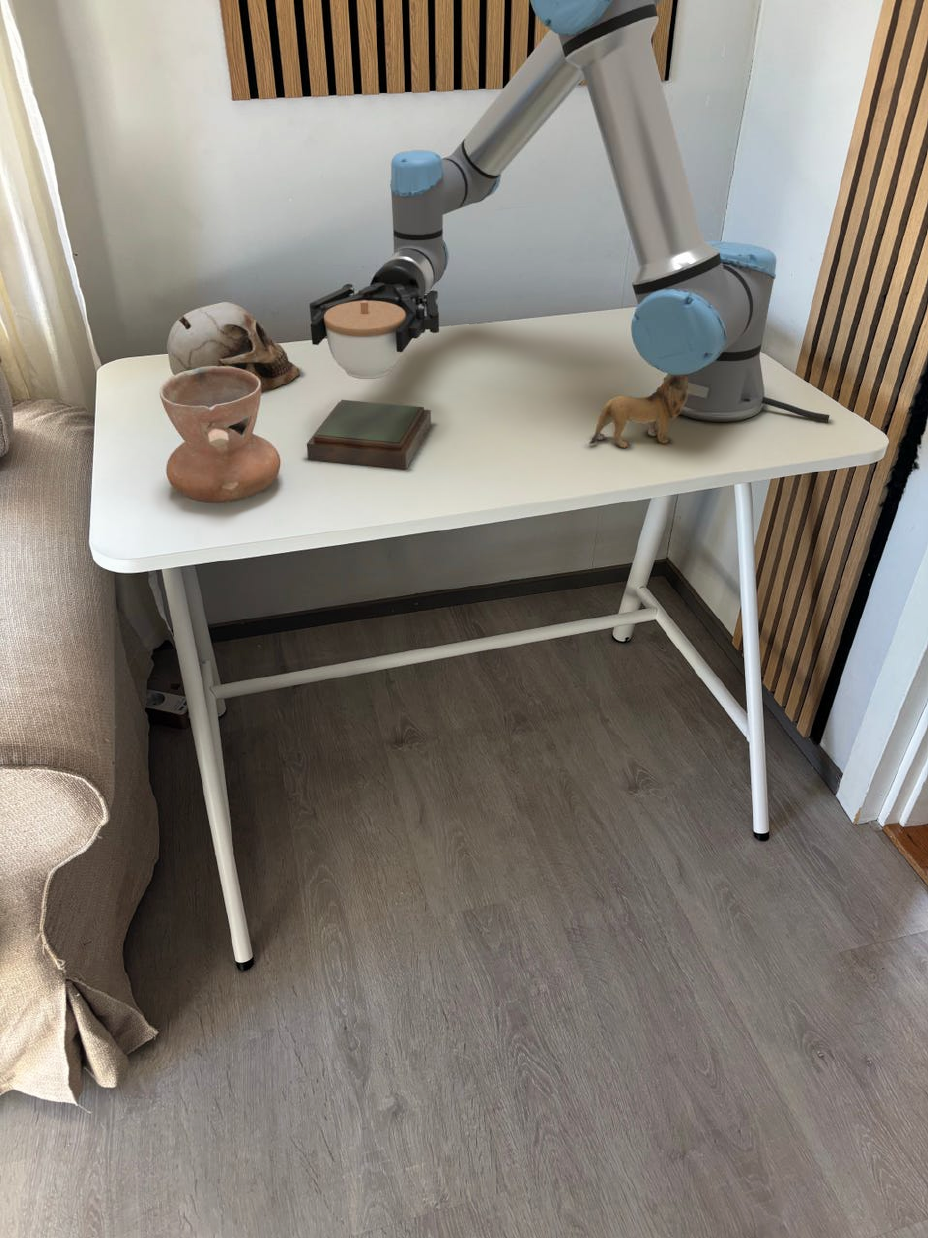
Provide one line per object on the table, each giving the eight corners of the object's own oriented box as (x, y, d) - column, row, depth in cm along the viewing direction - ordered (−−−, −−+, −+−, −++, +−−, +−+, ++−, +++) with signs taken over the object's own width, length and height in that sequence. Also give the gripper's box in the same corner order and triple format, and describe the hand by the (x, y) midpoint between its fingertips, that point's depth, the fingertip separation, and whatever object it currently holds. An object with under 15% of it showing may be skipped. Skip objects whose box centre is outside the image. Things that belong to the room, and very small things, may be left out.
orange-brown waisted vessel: (290, 511, 121) (276, 405, 113) (172, 526, 119) (149, 419, 110) (275, 448, 135) (262, 350, 127) (169, 460, 133) (149, 361, 124)
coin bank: (308, 370, 157) (291, 290, 148) (243, 421, 146) (221, 338, 137) (233, 356, 163) (213, 279, 155) (165, 404, 152) (139, 324, 144)
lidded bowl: (319, 383, 127) (312, 313, 122) (340, 352, 136) (335, 285, 130) (398, 389, 126) (395, 318, 120) (415, 357, 134) (413, 290, 129)
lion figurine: (672, 424, 141) (680, 365, 136) (691, 439, 137) (700, 379, 132) (581, 439, 137) (586, 379, 132) (597, 456, 133) (603, 394, 128)
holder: (431, 425, 141) (430, 404, 139) (406, 469, 130) (405, 447, 128) (340, 416, 144) (338, 395, 142) (308, 459, 133) (305, 437, 131)
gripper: (479, 315, 141) (444, 373, 124) (328, 303, 145) (274, 358, 128) (479, 263, 137) (443, 316, 120) (324, 252, 141) (268, 302, 124)
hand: (356, 338), depth 124 cm, fingers closed on lidded bowl, 11 cm apart
